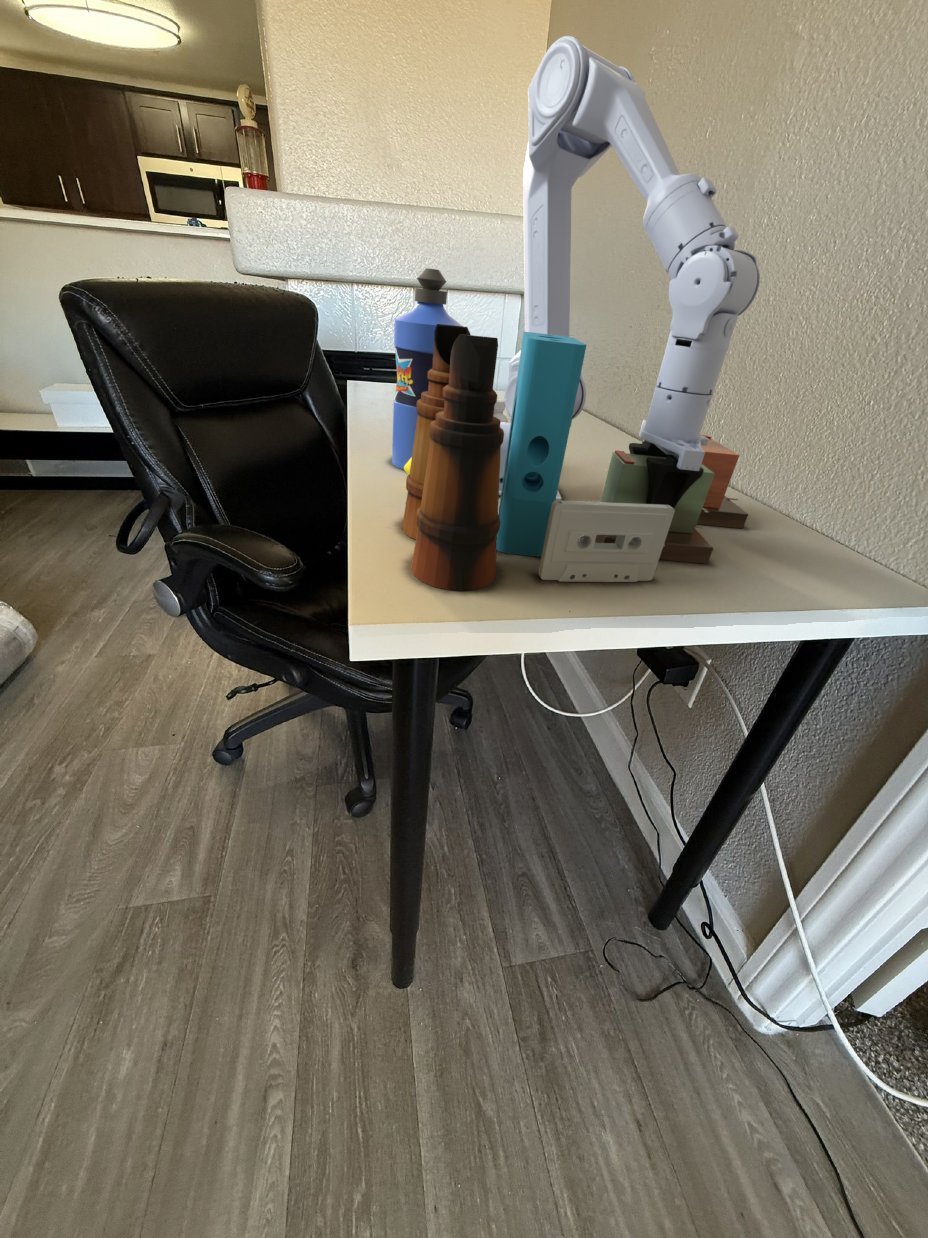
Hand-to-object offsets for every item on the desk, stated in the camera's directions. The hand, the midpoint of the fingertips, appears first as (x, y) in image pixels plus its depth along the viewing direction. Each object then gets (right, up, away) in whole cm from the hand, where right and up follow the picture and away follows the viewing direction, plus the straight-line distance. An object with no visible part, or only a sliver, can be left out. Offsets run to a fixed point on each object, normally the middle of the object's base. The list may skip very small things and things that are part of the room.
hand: (646, 514), depth 61 cm
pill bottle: (-18, +13, +23) cm, 32 cm away
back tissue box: (+10, +5, +12) cm, 16 cm away
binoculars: (-23, -5, -6) cm, 25 cm away
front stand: (0, -2, +2) cm, 3 cm away
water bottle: (-28, +11, +19) cm, 36 cm away
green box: (0, -1, 0) cm, 1 cm away
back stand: (+10, +4, +13) cm, 17 cm away
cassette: (-8, -8, -9) cm, 15 cm away
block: (-15, -3, -2) cm, 16 cm away
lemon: (-26, +5, +9) cm, 28 cm away
